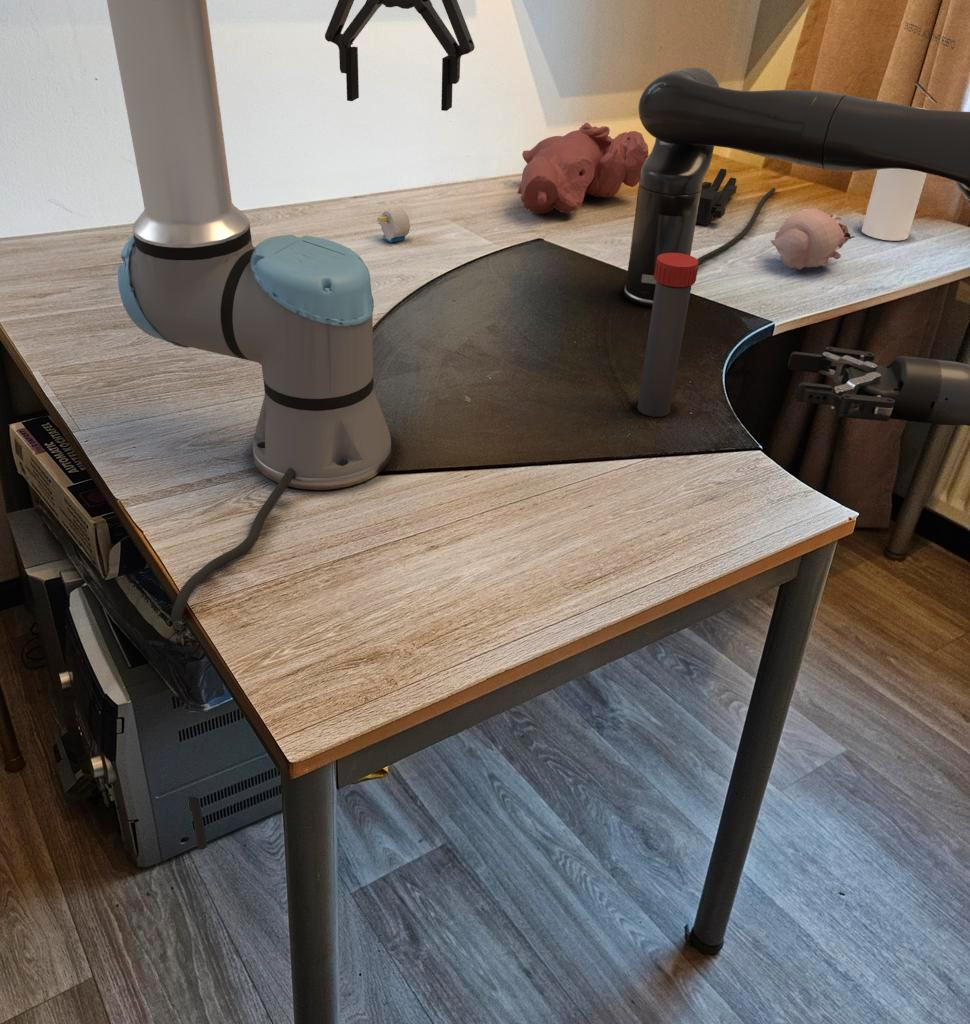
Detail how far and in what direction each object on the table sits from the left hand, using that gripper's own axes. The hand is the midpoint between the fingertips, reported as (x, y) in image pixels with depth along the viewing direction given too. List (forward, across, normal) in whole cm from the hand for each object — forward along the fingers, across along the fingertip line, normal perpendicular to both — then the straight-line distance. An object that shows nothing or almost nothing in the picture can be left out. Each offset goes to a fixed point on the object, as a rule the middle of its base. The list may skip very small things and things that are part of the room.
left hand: (399, 104), depth 133 cm
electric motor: (+28, +9, -23) cm, 37 cm away
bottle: (+28, -42, +25) cm, 56 cm away
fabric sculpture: (+27, -18, -58) cm, 66 cm away
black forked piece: (+27, -44, -68) cm, 85 cm away
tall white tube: (+27, -77, -62) cm, 102 cm away
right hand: (+21, -57, +24) cm, 66 cm away
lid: (+9, -42, +25) cm, 50 cm away
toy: (+27, -62, -37) cm, 77 cm away
